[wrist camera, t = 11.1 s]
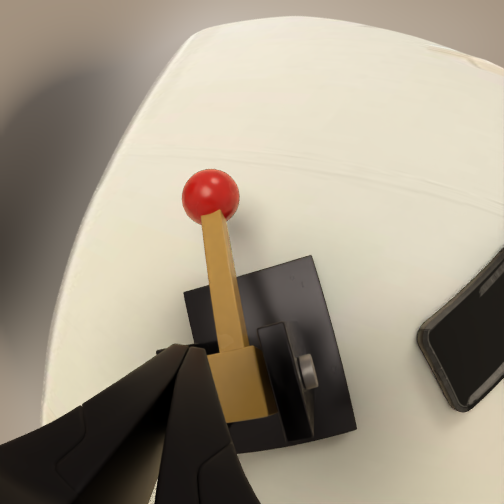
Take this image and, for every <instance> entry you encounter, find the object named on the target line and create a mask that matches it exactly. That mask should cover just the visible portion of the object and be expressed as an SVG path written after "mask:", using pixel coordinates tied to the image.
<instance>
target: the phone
mask: <svg viewBox="0 0 504 504" xmlns="http://www.w3.org/2000/svg"><path fill="white" fill-rule="evenodd" d="M417 340H418V344H419V347H420V349H421V350H422V352H423V354H424V356H425V358H426V360H427V361H428V363H429V365H430V367H431V369H432V371H433V373H434V375H435V377H436V379H437V381H438V383H439V384H440V386H441V388H442V390H443V393H444V395H445V397H446V399H447V401H448V403H449V405H450V406H451V407H452V408H454V409H455V410H457V411H459V412H467V411H469V410H471V409H472V408H473V407H474V406H476V405H477V404H478V403H479V402H480V401H481V400H482V399H483V398H484V397H485V396H486V395H487V394H488V393H489V392H490V391H491V390H492V389H493V388H494V387H495V386H496V385H497V384H498V383H499V382H500V381H501V380H502V379H503V378H504V247H503V249H502V250H501V251H500V252H499V253H498V254H497V255H496V256H495V257H494V258H493V259H492V261H491V262H490V263H489V264H488V265H487V266H486V267H485V268H484V269H483V270H482V271H481V272H480V273H479V274H478V275H477V276H476V277H475V278H474V279H473V280H472V281H471V282H470V283H469V284H468V285H467V286H466V287H464V288H463V289H462V290H461V291H460V292H459V293H458V294H457V295H456V296H455V297H454V298H453V299H451V300H450V301H449V302H448V303H447V304H446V305H445V306H443V307H442V308H441V309H440V310H439V311H438V312H437V313H435V314H434V315H433V316H432V317H431V318H429V319H428V320H427V321H426V322H424V324H423V325H422V326H421V327H420V329H419V331H418V336H417Z"/></svg>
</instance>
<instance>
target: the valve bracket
mask: <svg viewBox="0 0 504 504" xmlns="http://www.w3.org/2000/svg"><path fill="white" fill-rule="evenodd" d="M236 278H237V283H238V288H239V294H240V299H241V304H242V310H243V315H244V320H245V325H246V330H247V336H248V341H249V346H252V345H253V346H255V347H257V348H259V349H260V350H262V354H263V358H264V362H265V365H266V369H267V373H268V377H269V381H270V384H271V388H272V392H273V396H274V399H275V403H276V407H277V411H278V413H276V414H273V415H270V416H268V417H263V418H257V419H251V420H245V421H238V422H231V423H227V426H228V429H229V432H230V436H231V439H232V444H234V447H235V450H236V453H237V454H240V453H248V452H256V451H263V450H270V449H276V448H282V447H287V446H292V445H297V444H302V443H307V442H311V441H316V440H320V439H324V438H328V437H332V436H336V435H339V434H343V433H347V432H350V431H353V430H356V429H357V426H356V421H355V417H354V412H353V408H352V403H351V399H350V395H349V390H348V386H347V382H346V378H345V374H344V369H343V365H342V361H341V358H340V354H339V350H338V346H337V342H336V338H335V334H334V331H333V327H332V323H331V320H330V316H329V312H328V309H327V305H326V302H325V298H324V295H323V291H322V288H321V285H320V281H319V278H318V274H317V271H316V268H315V265H314V261H313V258H312V256H311V255H309V256H306V257H303V258H299V259H296V260H293V261H289V262H286V263H283V264H279V265H276V266H273V267H269V268H266V269H262V270H259V271H256V272H252V273H249V274H245V275H242V276H239V277H236ZM183 294H184V298H185V303H186V308H187V313H188V317H189V322H190V326H191V331H192V335H193V339H194V344H190V345H186V346H188V347H189V348H190V347H197V348H203V349H205V351H206V354H207V355H211V354H216V353H220V352H219V346H218V340H217V333H216V327H215V321H214V314H213V307H212V300H211V293H210V286H209V285H207V286H204V287H200V288H197V289H193V290H190V291H186V292H184V293H183ZM164 350H165V349H160V350H157V351H156V354H157V355H158V354H159V353H161V352H162V351H164Z"/></svg>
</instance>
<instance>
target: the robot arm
mask: <svg viewBox="0 0 504 504" xmlns="http://www.w3.org/2000/svg"><path fill="white" fill-rule="evenodd" d="M157 478H158V482H157V489H156V496H155V503H154V504H261V503H260V502H259V500H258V498H257V497H256V495H255V493H254V491H253V489H252V487H251V485H250V484H249V482H248V480H247V478H246V476H245V473H244V471H243V469H242V466H241V464H240V461H239V458H238V456H237V453H236V450H235V447H234V444H232V439H231V436H230V432H229V429H228V426H227V423H226V420H225V417H224V413H223V410H222V407H221V404H220V400H219V397H218V393H217V390H216V387H215V383H214V380H213V376H212V372H211V369H210V365H209V361H208V358H207V354H206V351H205V349H203V348H197V347H190V348H189V347H188V346H186V345H181V344H172V345H171V346H169V347H168V348H166V349H165V350H164V351H162V352H161V353H159V354H158V355H156V356H155V357H153V358H152V359H150V360H149V361H147V362H146V363H144V364H143V365H141V366H140V367H138V368H137V369H135V370H134V371H132V372H131V373H129V374H128V375H126V376H125V377H123V378H122V379H120V380H119V381H117V382H116V383H114V384H112V385H111V386H109V387H108V388H106V389H105V390H103V391H102V392H100V393H99V394H97V395H96V396H94V397H92V398H91V399H89V400H88V401H86V402H85V403H83V404H82V406H81V405H80V406H78V407H76V408H75V409H73V410H72V411H70V412H68V413H67V414H65V415H63V416H62V417H60V418H58V419H56V420H55V421H53V422H51V423H49V424H47V425H45V426H43V427H41V428H39V429H37V430H35V431H32V432H30V433H28V434H26V435H23V436H21V437H18V438H16V439H14V440H11V441H9V442H7V443H4V444H2V445H0V504H148V503H149V500H150V497H151V495H152V492H153V489H154V486H155V484H156V481H157Z"/></svg>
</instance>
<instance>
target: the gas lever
mask: <svg viewBox="0 0 504 504" xmlns="http://www.w3.org/2000/svg"><path fill="white" fill-rule="evenodd" d="M239 199H240V195H239V190H238V187H237V184H236V183H235V181H234V180H233V179H232V177H231V176H229V175H228V174H227V173H225V172H223V171H221V170H217V169H205V170H202V171H199V172H197V173H196V174H194V175H193V176H192V177H190V179H189V180H188V181H187V182H186V184H185V186H184V189H183V192H182V204H183V207H184V210H185V212H186V214H187V215H188V216H189V217H190V218H191V219H192V220H193V221H194V222H196V223H198V224H200V225H202V231H203V240H204V248H205V256H206V264H207V272H208V279H209V286H210V293H211V300H212V307H213V314H214V321H215V327H216V333H217V340H218V346H219V352H220V353H216V354H211V355H207V358H208V361H209V365H210V369H211V372H212V376H213V380H214V383H215V387H216V390H217V393H218V397H219V400H220V404H221V407H222V410H223V413H224V417H225V420H226V423H231V422H238V421H245V420H251V419H257V418H263V417H268V416H270V415H273V414H276V413H278V411H277V407H276V403H275V399H274V396H273V392H272V388H271V384H270V381H269V377H268V373H267V369H266V365H265V362H264V358H263V354H262V350H260V349H259V348H257V347H255V346H253V345H252V346H249V341H248V336H247V330H246V325H245V320H244V315H243V310H242V304H241V299H240V294H239V288H238V283H237V278H236V272H235V267H234V261H233V256H232V250H231V245H230V239H229V233H228V228H227V221H228V220H229V219H230V218H231V217H232V216H233V215H234V214H235V212H236V210H237V208H238V205H239Z"/></svg>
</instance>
